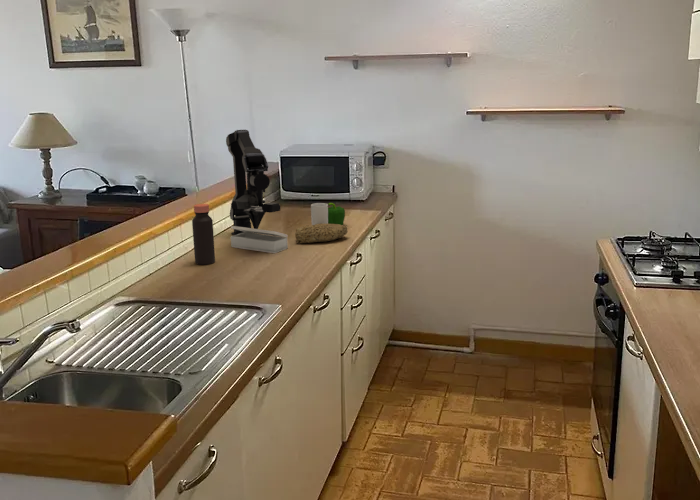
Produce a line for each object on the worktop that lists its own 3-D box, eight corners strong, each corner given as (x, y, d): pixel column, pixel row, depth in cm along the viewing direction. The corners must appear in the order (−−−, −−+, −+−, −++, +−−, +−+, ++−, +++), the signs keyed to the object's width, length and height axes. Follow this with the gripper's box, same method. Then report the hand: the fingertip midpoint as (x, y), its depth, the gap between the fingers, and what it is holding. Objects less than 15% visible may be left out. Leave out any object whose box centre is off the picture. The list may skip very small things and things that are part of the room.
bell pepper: (346, 224, 295) (345, 200, 292) (344, 228, 287) (343, 204, 285) (326, 223, 296) (326, 200, 293) (324, 228, 288) (323, 204, 285)
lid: (231, 228, 258) (231, 225, 258) (244, 231, 265) (244, 229, 265) (274, 234, 248) (275, 231, 248) (287, 237, 255) (287, 234, 255)
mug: (325, 236, 273) (325, 206, 270) (309, 235, 275) (308, 206, 272) (332, 230, 283) (332, 201, 280) (316, 230, 284) (315, 201, 281)
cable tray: (231, 246, 259) (230, 236, 258) (244, 242, 266) (244, 232, 265) (274, 253, 250) (274, 242, 248) (287, 248, 256) (287, 237, 255)
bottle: (208, 258, 244) (204, 202, 239) (219, 262, 239) (215, 204, 234) (191, 262, 239) (187, 205, 234) (202, 266, 234) (198, 207, 229)
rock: (298, 249, 260) (349, 236, 260) (293, 229, 260) (345, 216, 260) (299, 247, 273) (349, 235, 274) (294, 227, 273) (344, 215, 273)
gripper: (220, 187, 250) (221, 230, 253) (261, 190, 240) (262, 235, 244) (240, 184, 259) (241, 225, 262) (280, 187, 250) (281, 230, 253)
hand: (256, 229), depth 255 cm, fingers closed, pressing on lid
